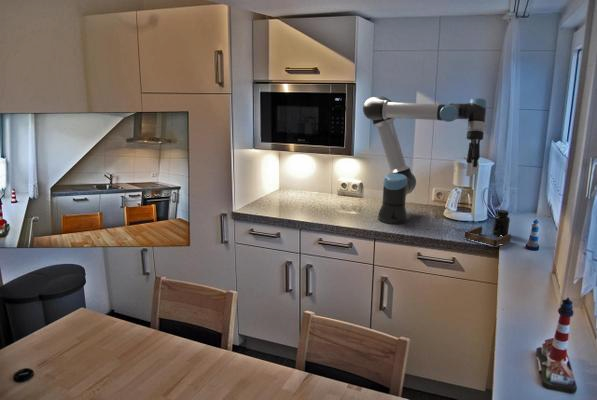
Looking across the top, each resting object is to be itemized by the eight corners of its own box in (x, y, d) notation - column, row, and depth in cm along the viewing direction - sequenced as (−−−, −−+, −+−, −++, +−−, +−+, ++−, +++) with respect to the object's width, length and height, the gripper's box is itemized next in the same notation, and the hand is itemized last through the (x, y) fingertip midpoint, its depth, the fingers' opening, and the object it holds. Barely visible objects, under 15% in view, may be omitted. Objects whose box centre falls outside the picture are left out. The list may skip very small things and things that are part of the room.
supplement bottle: (498, 231, 228) (502, 208, 225) (510, 236, 223) (514, 211, 219) (489, 233, 225) (492, 209, 222) (501, 238, 219) (504, 213, 216)
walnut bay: (464, 239, 217) (465, 232, 216) (479, 233, 226) (480, 226, 225) (495, 248, 206) (496, 240, 205) (510, 241, 215) (511, 234, 214)
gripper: (489, 127, 211) (484, 174, 211) (478, 135, 236) (474, 177, 236) (471, 126, 213) (467, 172, 213) (463, 134, 237) (459, 176, 237)
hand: (471, 175), depth 224 cm, fingers open, 13 cm apart
